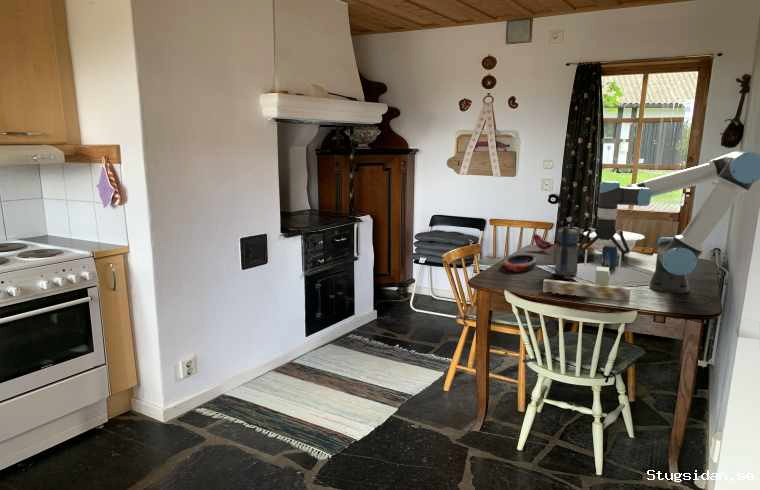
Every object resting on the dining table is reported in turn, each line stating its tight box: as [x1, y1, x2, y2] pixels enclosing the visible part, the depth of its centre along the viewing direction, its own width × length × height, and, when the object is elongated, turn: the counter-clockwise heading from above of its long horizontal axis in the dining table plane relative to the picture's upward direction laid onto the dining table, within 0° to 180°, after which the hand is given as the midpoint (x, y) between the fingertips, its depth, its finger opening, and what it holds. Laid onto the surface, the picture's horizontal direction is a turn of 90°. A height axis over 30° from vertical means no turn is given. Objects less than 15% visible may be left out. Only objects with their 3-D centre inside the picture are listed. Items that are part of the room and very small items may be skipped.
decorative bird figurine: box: [532, 233, 558, 253], centre depth 308 cm, size 3×18×10 cm, turn 40°
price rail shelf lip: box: [542, 278, 631, 302], centre depth 221 cm, size 34×4×5 cm, turn 66°
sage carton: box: [594, 266, 611, 286], centre depth 228 cm, size 8×5×10 cm, turn 156°
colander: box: [583, 230, 646, 256], centre depth 294 cm, size 32×32×13 cm
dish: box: [502, 253, 538, 273], centre depth 273 cm, size 16×31×5 cm, turn 147°
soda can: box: [600, 244, 618, 270], centre depth 268 cm, size 7×7×12 cm
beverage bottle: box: [554, 222, 580, 277], centre depth 255 cm, size 10×13×25 cm
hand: (601, 266), depth 227 cm, fingers open, 13 cm apart
